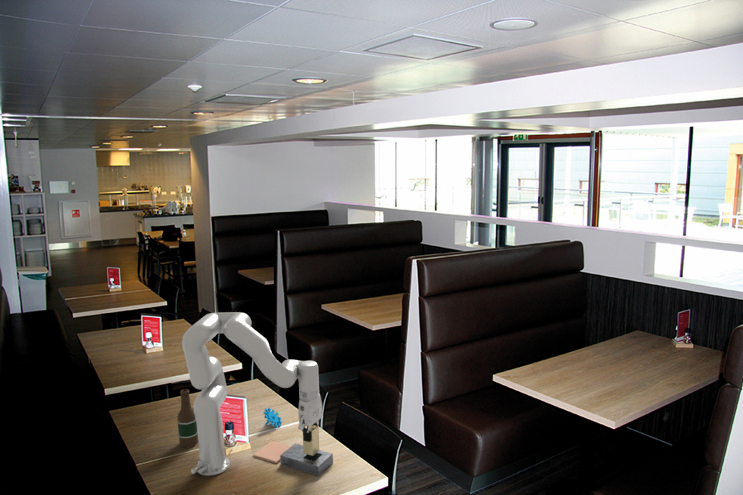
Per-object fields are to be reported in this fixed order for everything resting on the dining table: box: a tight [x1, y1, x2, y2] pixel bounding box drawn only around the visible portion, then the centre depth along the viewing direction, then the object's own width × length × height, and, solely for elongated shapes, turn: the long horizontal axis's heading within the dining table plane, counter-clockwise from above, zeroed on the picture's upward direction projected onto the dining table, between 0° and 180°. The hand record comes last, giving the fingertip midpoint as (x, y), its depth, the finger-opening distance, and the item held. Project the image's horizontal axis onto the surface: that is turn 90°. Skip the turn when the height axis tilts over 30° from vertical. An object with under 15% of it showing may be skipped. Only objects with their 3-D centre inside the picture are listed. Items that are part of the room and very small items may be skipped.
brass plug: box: [302, 425, 320, 456], centre depth 208 cm, size 4×4×10 cm
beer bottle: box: [177, 388, 199, 448], centre depth 228 cm, size 8×8×24 cm
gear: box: [263, 407, 283, 428], centre depth 244 cm, size 11×6×10 cm
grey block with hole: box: [280, 443, 334, 477], centre depth 211 cm, size 10×18×4 cm, turn 61°
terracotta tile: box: [252, 440, 293, 464], centre depth 220 cm, size 12×12×1 cm
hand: (310, 437), depth 208 cm, fingers closed on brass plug, 4 cm apart
